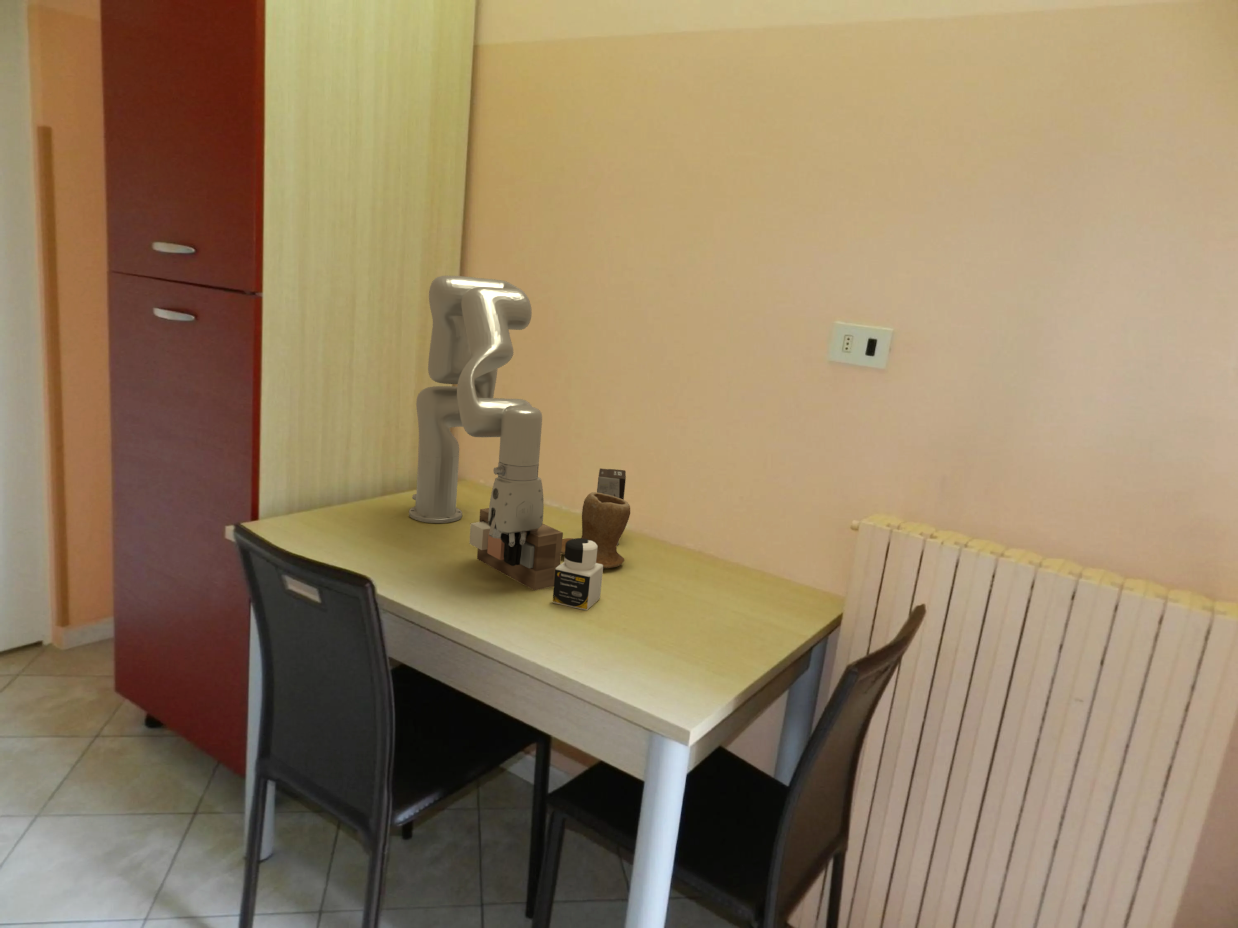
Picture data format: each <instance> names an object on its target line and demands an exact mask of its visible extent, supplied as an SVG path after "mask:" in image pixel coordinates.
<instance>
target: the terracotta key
mask: <svg viewBox="0 0 1238 928" xmlns="http://www.w3.org/2000/svg"><path fill="white" fill-rule="evenodd" d="M487 553H488V554H490V555H492V556H493V557H495V558H497V559H499V560H503V559H504V543H503V542H502V540H501V539H499V538H493V537H491V536H489V534H488V549H487Z"/></svg>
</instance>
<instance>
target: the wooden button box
mask: <svg viewBox="0 0 1238 928" xmlns="http://www.w3.org/2000/svg"><path fill="white" fill-rule="evenodd" d="M488 515H489V507H487V508H480V509H479V520H478V522H483V521H486V522H488ZM563 536H564V532H562V531H561V530H558V529H556V528H554V527H551V526H549V525H547V524H544V523H542V526H541V527H540V528H538V531H536V532H530V534H529V536H528V537H527V538H526V539H525V541H527V542H529V543H531V544H533V545H535V551H534V564H533V568H527V567H525V566H523V565H521V564H520V565H515V566H511V565H509V564H508V563H506V562H504V559H503V560H499V559H497V558H495V557H493V556H492V555H490V554H488V553H487V549H486V550H480V549H478V548H477V555H476V559H477V560H478V561H479V562H481V563H483V564H485V565H487V566H488V567H490V568H492V569H494V570H496V571H498V572H499V573H501V574H503V575H505V576H507V577H509V578H510V579H512V580H513V581H516V582H518V583H520V584H522V585H524V586H525V587H527V588H529V589H530V590H532V591H539V590H543V589H547V588H552V587H553V588H554V579H555V568H556V567H558V566H559V565H560V564H561V563H562V562H561V559H562V554H561V550H562V539H564V537H563Z"/></svg>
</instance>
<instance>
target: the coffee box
mask: <svg viewBox="0 0 1238 928" xmlns="http://www.w3.org/2000/svg"><path fill="white" fill-rule="evenodd" d="M598 471H599V472H598V478H597V485H596V486H597V487H596V493H602V494H607V495H611V496H614V497H617V498H620V499H623V500H625V490H626V482H627V481H626V480H627V479H626V478H627V477H626V470H624V469H623V470H622V469H615V468H614V469H611V468H599V470H598ZM619 543H620V540H619V541H618V543H617V546H619Z"/></svg>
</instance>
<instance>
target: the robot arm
mask: <svg viewBox="0 0 1238 928" xmlns="http://www.w3.org/2000/svg"><path fill="white" fill-rule="evenodd" d="M428 304H429V308H430V313H431V319H432V330H431V337H430V345H429V351H428V352H429V353H428V362H427V363H428V366H427V372H428V375H429V378H430V379H431V380H432V381H433V382H435V383H439V384H444V385H433V386H429V387H425V388H424V389H422V390H420V391H419V393H418V394H417V396H416V403H415V405H416V414H417V422H418V427H417V428H418V454H417V472H416V473H417V474H416V478H417V480H416V493H414V494H413V495H412V497H411V498H412V500H414V501H415V505H414V506H412V507H411V508H409V510H408V516H409V517H410V518H411V519H413V520H415V521H418V522H423V523H431V524H446V523H453V522H456V521H459V520H461V519H462V517H463V511H462V510H461V509H459V508H458V507H457V495H458V479H459V477H458V476H459V463H460V462H459V460H460V459H459V458H460V444H459V441H458V439H457V438H456V437H455V435H454V434H453V433H452V431H451V429H450V428H457V427H458V428H460V427H461V428H463V429H464V431H465V432H466V433H467V434H468V435H469V436H471V437H474V438H500V439H499V453H498V462H497V467H494V468H493V469H492V470H493V474H494V476H495V475H497V477H495V478H494V481H493V485H492V489H491V493H490V498H489V507H488V508H489V515H488V524H489V526H490V531H489V536H491V537H493V538H499V539H501V540H502V542H503V543H504V562H506V563H508V564H509V565H511V566H515V565H520V558H521V549H522V545H523V544H524V543H525V539H526V538H527V537H528V536H529V534H530V532H536V531H538V528H540V527H541V526H542V523H543V522H544V509H545V508H544V506H545V505H544V489H543V482H542V478H541V477H539V466H540V450H541V440H542V425H543V414H542V413H543V412H541V410H540V409H539V408H537V407H534V406H532V404H531V403H530V402H529V401H527V400H526V399H523V398H522V399H521V398H503V397H501V398H498V397H497V398H496V397H495V396H494V395H495V390H496V383H497V378H498V377H497V376H498V369H500V368H502V367H504V366H505V365H506V364H508V363H509V362H510V361H511V360H512V359H513V356H514V347H513V344H512V343H513V342H512V338H511V335H510V334H511V333H510V331H509V330H513V331H522V330H525V329H526V328H527V327H528V326H529V325H530V323H531V320H532V317H533V316H532V314H533V313H532V304H531V302H530V298H529V297H528V295H527V293H526V292H525V291H524V290H522V289H521V288H519V287H517V286H516V285H514V284H512V283H510V282H508V281H506V280H502V279H496V278H495V279H493V278H484V277H483V278H482V277H474V276H463V275H440V276H437V277H435V278H434V279H432V282H431V283H430V286H429V289H428ZM448 385H449V386H448ZM450 385H453V386H450ZM454 385H457V386H454ZM494 397H495V398H494ZM543 524H544V523H543Z"/></svg>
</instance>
